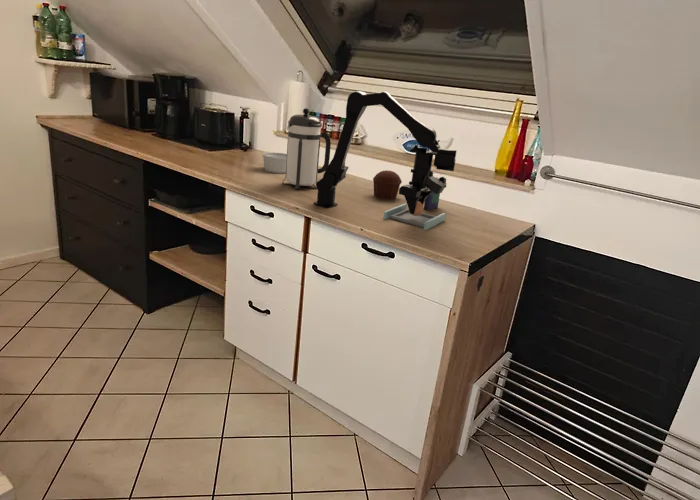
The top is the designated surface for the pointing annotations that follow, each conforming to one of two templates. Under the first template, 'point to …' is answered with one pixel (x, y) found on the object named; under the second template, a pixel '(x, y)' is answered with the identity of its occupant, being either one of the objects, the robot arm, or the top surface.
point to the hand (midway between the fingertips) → (415, 212)
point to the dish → (412, 218)
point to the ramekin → (275, 162)
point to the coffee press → (305, 150)
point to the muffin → (386, 184)
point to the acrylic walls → (427, 224)
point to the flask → (431, 201)
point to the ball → (418, 209)
